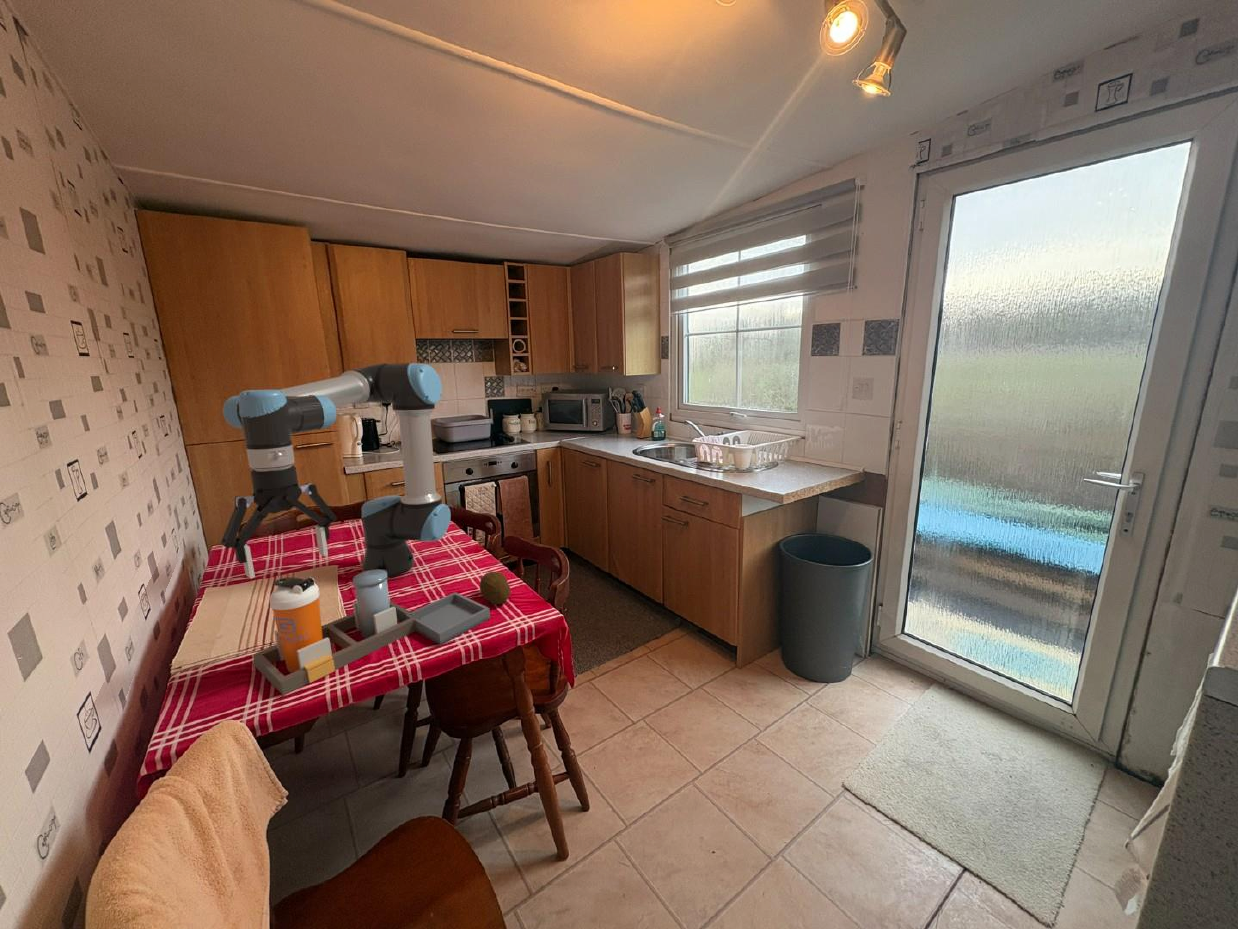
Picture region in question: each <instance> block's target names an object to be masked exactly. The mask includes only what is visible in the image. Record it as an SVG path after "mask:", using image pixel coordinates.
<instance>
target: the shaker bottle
mask: <svg viewBox="0 0 1238 929" xmlns="http://www.w3.org/2000/svg"><path fill="white" fill-rule="evenodd" d="M273 585H274V586H276V587H277V588H276V589H274V590H273V591H272V593H271V594H270V596H269V604H270V608H271V609H272V611H273V618H274V620H275V621H274V622H275V625H276V629H277V630H278V633H279V638H280V642H281V646H282V650H283V654H284V658H285V659H284V661H285V665H286V670H287V671H288V672H289V673H293V672H295V671H297V670H300V667H299V661H298V655H297V650H300V649H302V648H304V647H306V646H309V645H311V644H313V643H316V642H318V641H320V640H323V636H322V626H323V625H322V617H321V606H320V596H321V594H320V589H319V586H318V585H317V584H316V582H315V579H314V578H313V577H311V576H309V577H306V578H299V577H292V576H291V577H290V576H288V577H283V578H279V579H276V580H274V582H273Z"/></svg>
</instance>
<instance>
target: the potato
mask: <svg viewBox="0 0 1238 929" xmlns="http://www.w3.org/2000/svg"><path fill="white" fill-rule="evenodd" d="M506 577H507V576H505V575H504V573H503V572H499V571H489V572H487V573H486V574H484V575H483V576H482V577H481V579H480V580H479V581H480V582H479V591H480V594H481V595H482V597H483V598H484V599H485V600H486V601H488V602H489V603H491V604H494V605H495V604H496V605H500V604H503V603H505V602H506V601H507V600H508V599H509V598H510V595H511V587H510V584H509V583H508V578H506Z"/></svg>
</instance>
